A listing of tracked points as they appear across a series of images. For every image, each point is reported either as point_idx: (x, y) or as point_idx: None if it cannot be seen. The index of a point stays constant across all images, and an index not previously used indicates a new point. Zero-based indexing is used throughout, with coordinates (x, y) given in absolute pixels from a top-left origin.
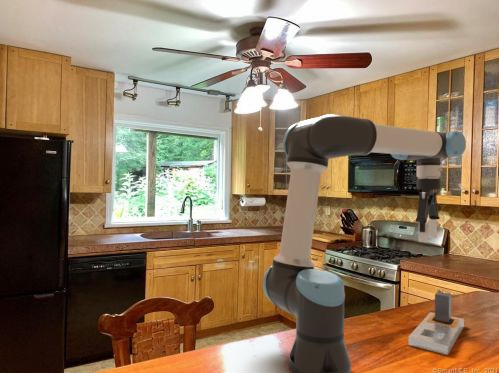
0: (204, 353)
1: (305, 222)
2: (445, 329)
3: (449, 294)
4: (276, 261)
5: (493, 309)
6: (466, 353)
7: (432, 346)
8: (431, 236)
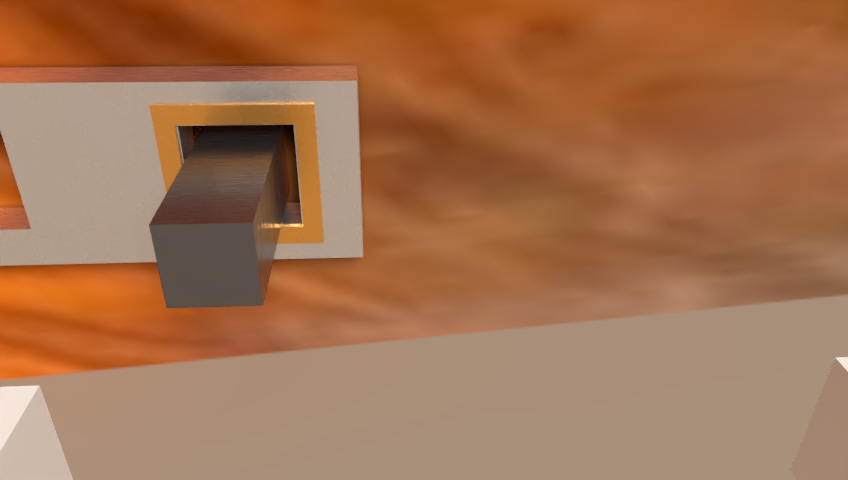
0: None
1: None
2: (97, 217)
3: (233, 298)
4: None
5: (779, 298)
6: (12, 294)
7: None
8: (825, 423)
